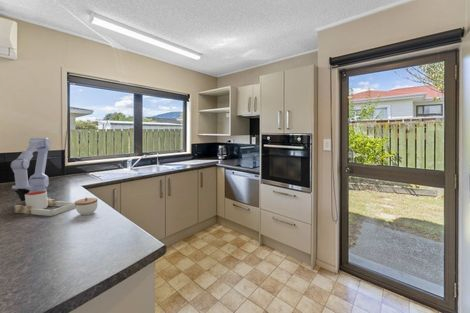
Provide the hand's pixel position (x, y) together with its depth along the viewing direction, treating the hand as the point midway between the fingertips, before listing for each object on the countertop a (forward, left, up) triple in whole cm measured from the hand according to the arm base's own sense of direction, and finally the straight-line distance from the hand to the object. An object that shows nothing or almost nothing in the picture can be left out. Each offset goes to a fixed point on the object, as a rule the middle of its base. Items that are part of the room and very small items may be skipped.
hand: (24, 200), depth 136 cm
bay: (+8, -4, -5) cm, 10 cm away
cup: (+9, -4, -5) cm, 11 cm away
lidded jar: (+43, -20, -5) cm, 48 cm away
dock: (+21, -10, -5) cm, 24 cm away
